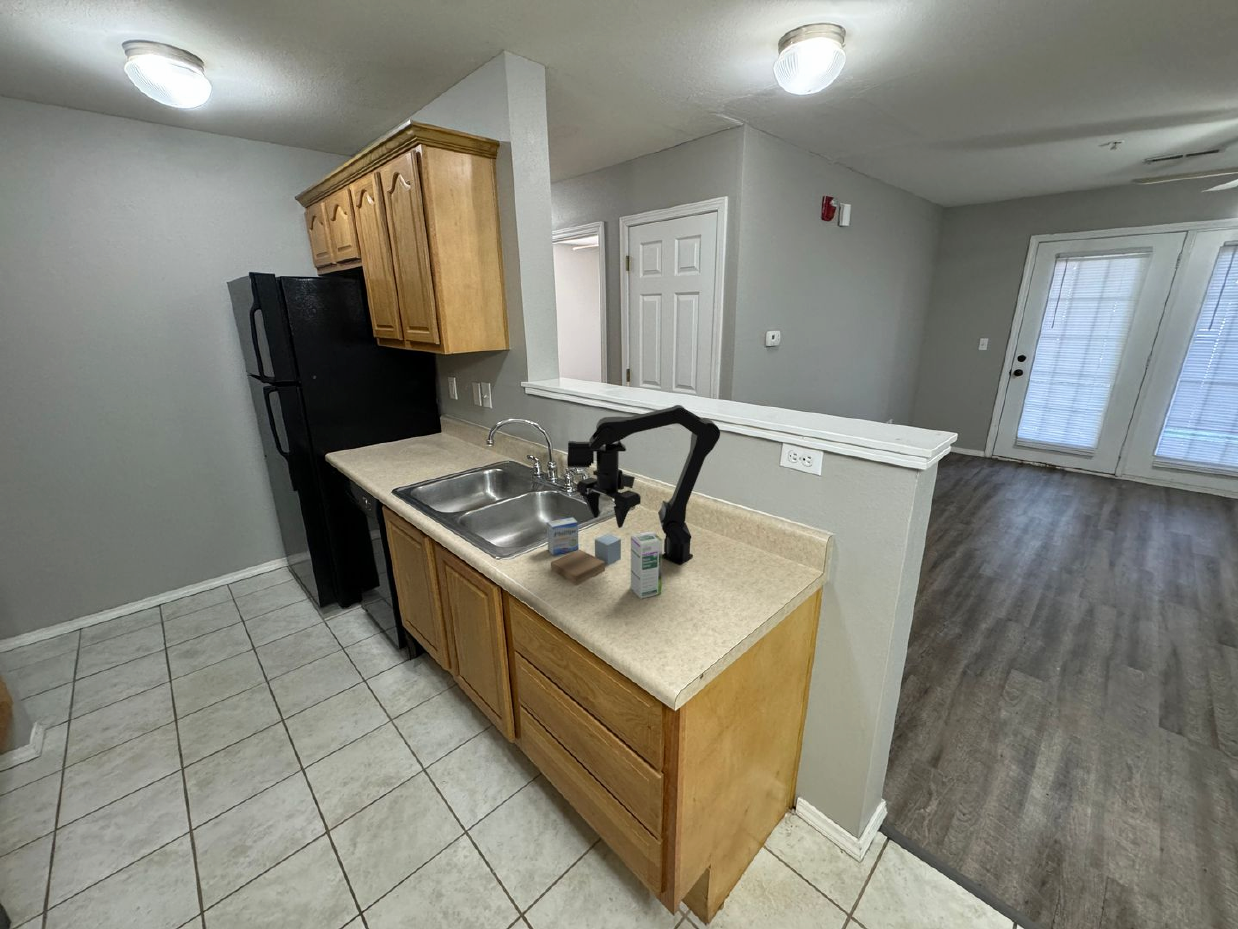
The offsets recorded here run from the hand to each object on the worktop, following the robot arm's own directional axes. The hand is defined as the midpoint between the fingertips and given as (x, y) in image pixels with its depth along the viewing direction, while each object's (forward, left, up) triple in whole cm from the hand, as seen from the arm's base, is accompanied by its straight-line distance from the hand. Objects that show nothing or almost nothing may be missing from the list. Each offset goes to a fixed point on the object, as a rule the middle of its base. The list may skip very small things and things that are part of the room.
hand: (607, 522), depth 134 cm
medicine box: (+13, +5, -11) cm, 18 cm away
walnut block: (+1, +10, -11) cm, 15 cm away
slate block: (0, 0, -11) cm, 11 cm away
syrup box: (-18, +5, -11) cm, 22 cm away
